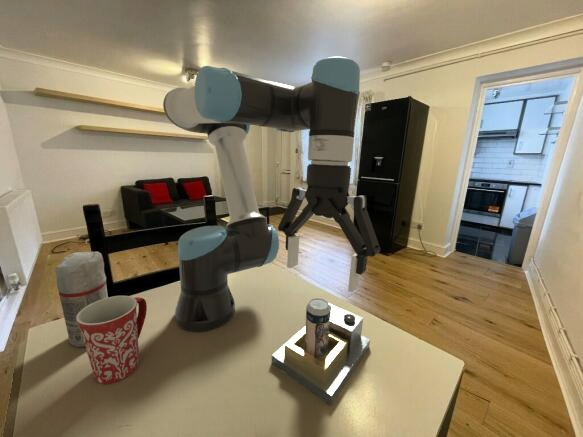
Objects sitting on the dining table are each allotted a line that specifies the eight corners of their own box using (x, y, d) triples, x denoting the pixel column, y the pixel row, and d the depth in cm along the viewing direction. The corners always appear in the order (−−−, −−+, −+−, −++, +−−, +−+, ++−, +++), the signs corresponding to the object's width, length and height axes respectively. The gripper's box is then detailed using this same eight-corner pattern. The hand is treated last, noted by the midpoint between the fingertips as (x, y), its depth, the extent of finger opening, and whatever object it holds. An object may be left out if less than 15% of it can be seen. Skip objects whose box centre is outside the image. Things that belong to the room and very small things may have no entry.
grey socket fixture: (271, 363, 51) (272, 330, 49) (317, 321, 65) (319, 295, 63) (330, 405, 43) (334, 367, 41) (369, 347, 57) (373, 317, 55)
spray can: (118, 336, 57) (106, 255, 53) (71, 355, 51) (53, 266, 47) (109, 319, 63) (98, 245, 58) (66, 335, 57) (50, 254, 52)
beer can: (320, 368, 48) (324, 314, 45) (299, 357, 50) (302, 305, 47) (330, 352, 52) (334, 301, 49) (310, 343, 54) (313, 294, 51)
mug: (115, 394, 43) (105, 328, 40) (75, 383, 45) (62, 318, 42) (166, 344, 55) (161, 290, 52) (132, 336, 57) (126, 284, 54)
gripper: (261, 160, 47) (260, 263, 52) (398, 167, 32) (377, 311, 37) (286, 160, 52) (283, 253, 57) (412, 167, 38) (392, 291, 43)
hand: (320, 276), depth 47 cm, fingers open, 13 cm apart
